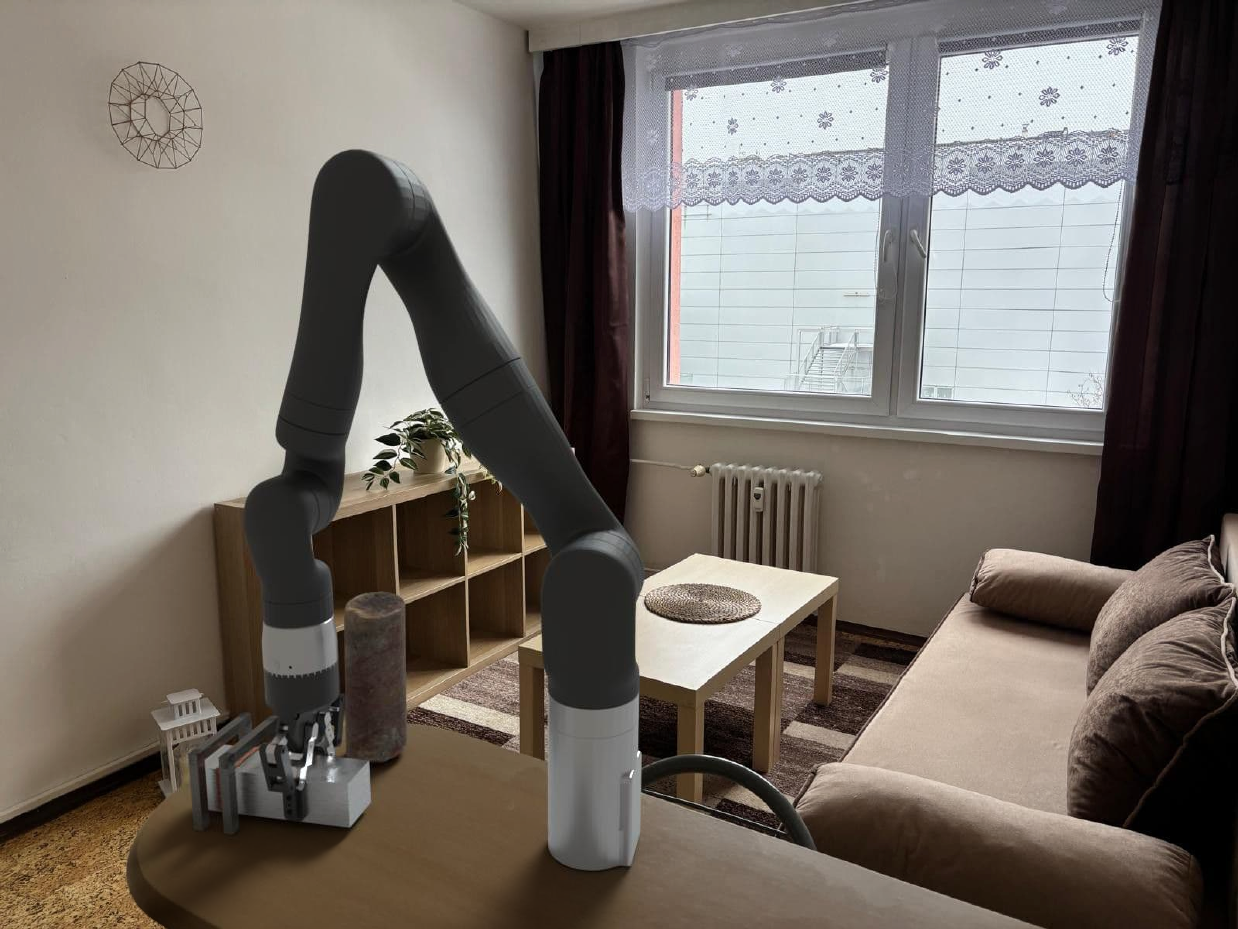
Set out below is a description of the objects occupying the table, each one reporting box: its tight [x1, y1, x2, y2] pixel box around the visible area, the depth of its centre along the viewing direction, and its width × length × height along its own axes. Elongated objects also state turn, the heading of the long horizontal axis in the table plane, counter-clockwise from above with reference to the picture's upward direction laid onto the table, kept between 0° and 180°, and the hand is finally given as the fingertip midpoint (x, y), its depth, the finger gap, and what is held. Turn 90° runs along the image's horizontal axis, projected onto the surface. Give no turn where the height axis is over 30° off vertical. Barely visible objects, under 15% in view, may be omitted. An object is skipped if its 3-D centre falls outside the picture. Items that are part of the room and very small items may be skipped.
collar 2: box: [218, 715, 278, 836], centre depth 100 cm, size 1×10×9 cm, turn 169°
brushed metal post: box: [205, 744, 372, 828], centre depth 100 cm, size 18×5×5 cm, turn 79°
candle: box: [343, 591, 408, 764], centre depth 111 cm, size 8×7×20 cm
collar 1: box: [187, 712, 253, 832], centre depth 101 cm, size 1×10×9 cm, turn 169°
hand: (309, 804), depth 100 cm, fingers closed on brushed metal post, 5 cm apart
